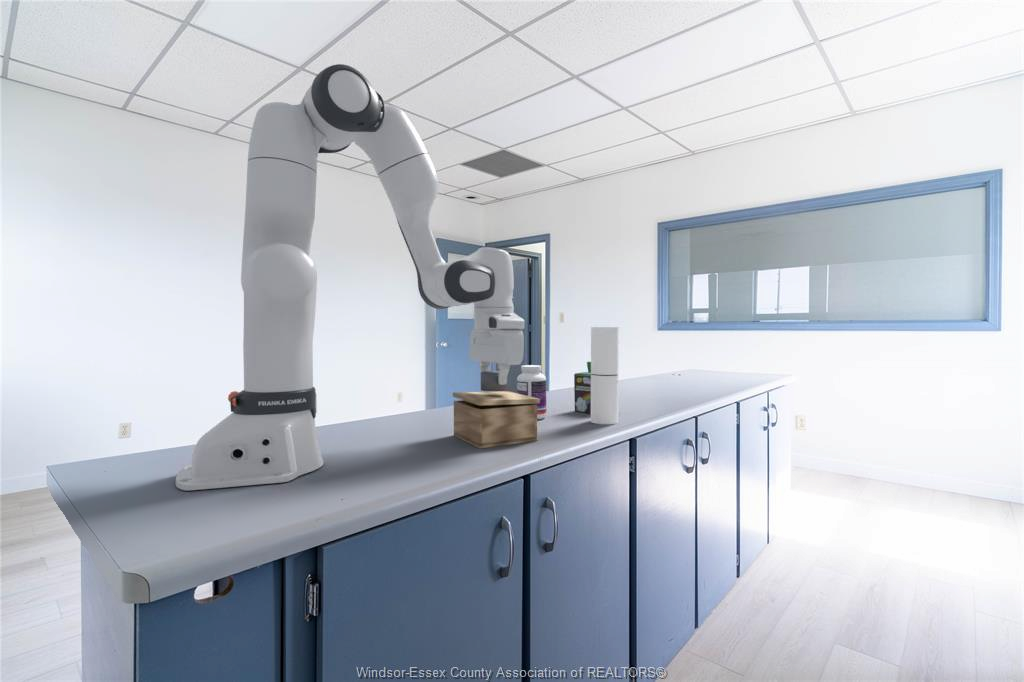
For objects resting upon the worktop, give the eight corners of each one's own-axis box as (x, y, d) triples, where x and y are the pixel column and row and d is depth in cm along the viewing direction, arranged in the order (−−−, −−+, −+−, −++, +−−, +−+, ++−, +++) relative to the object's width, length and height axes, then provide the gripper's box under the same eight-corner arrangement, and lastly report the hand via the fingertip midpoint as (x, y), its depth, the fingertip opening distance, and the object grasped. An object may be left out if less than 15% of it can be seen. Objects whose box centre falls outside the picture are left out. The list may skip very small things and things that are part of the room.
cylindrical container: (585, 421, 130) (585, 327, 130) (601, 418, 135) (602, 327, 134) (607, 425, 125) (607, 327, 124) (623, 421, 130) (624, 327, 129)
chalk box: (617, 411, 146) (617, 361, 145) (597, 415, 140) (598, 363, 139) (592, 407, 153) (592, 360, 152) (573, 411, 147) (573, 361, 146)
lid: (479, 405, 101) (479, 400, 101) (452, 396, 114) (453, 392, 114) (539, 403, 108) (539, 398, 108) (508, 395, 121) (508, 391, 121)
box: (479, 448, 102) (479, 409, 101) (453, 435, 114) (453, 400, 114) (537, 440, 108) (537, 404, 108) (507, 429, 121) (507, 396, 120)
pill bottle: (547, 415, 139) (547, 364, 139) (545, 421, 131) (545, 367, 131) (519, 415, 140) (518, 364, 140) (515, 420, 132) (515, 366, 132)
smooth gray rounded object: (487, 392, 107) (487, 373, 107) (476, 389, 112) (476, 371, 112) (512, 390, 110) (512, 372, 110) (499, 387, 115) (499, 370, 115)
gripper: (462, 321, 118) (462, 378, 118) (502, 320, 100) (502, 388, 100) (486, 321, 121) (486, 377, 121) (529, 320, 103) (528, 386, 103)
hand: (494, 382), depth 111 cm, fingers closed on smooth gray rounded object, 6 cm apart
